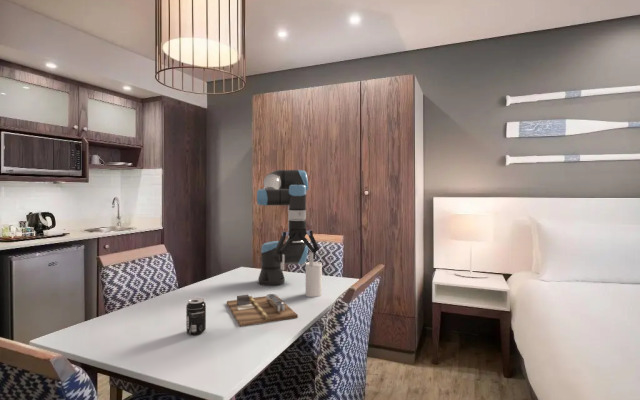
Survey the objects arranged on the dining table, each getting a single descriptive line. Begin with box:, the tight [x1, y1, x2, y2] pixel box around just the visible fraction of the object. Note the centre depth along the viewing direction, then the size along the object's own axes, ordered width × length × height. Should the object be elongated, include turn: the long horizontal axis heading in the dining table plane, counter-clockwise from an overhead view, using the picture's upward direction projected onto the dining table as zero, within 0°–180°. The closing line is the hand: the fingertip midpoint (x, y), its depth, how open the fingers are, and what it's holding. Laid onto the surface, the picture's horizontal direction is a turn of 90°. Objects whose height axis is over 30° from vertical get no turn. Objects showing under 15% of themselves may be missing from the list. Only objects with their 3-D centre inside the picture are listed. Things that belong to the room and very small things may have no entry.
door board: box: [226, 294, 299, 328], centre depth 154 cm, size 30×24×5 cm
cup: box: [305, 261, 323, 298], centre depth 178 cm, size 8×8×16 cm
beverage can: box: [185, 297, 207, 336], centre depth 130 cm, size 7×7×12 cm
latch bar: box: [265, 293, 285, 311], centre depth 154 cm, size 17×4×3 cm, turn 25°
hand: (297, 268), depth 154 cm, fingers open, 13 cm apart
